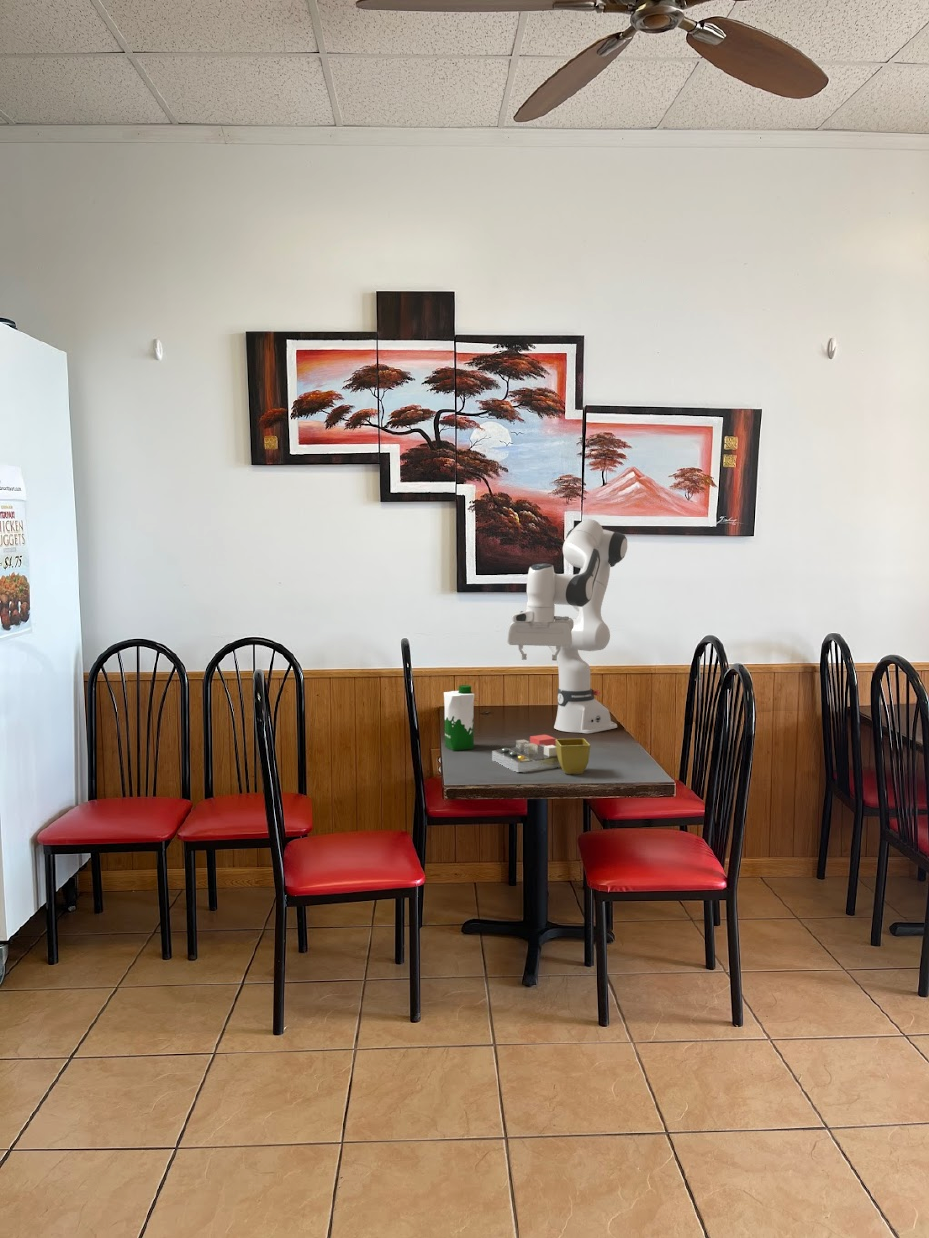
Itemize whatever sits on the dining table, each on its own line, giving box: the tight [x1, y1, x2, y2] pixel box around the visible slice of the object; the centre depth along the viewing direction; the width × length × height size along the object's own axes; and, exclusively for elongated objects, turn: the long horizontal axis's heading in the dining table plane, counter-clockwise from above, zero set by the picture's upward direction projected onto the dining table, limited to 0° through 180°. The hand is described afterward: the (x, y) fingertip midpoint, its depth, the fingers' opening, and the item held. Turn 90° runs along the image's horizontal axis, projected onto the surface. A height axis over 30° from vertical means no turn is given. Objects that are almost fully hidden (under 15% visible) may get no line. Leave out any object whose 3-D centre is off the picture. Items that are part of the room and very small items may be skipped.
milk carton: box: [443, 684, 476, 752], centre depth 294 cm, size 9×9×20 cm
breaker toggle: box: [544, 745, 557, 756], centre depth 273 cm, size 3×3×2 cm
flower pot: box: [556, 738, 591, 775], centre depth 266 cm, size 9×9×9 cm
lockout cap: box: [529, 734, 557, 746], centre depth 293 cm, size 6×6×4 cm
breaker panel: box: [491, 739, 561, 773], centre depth 276 cm, size 18×16×6 cm
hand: (539, 659), depth 285 cm, fingers open, 8 cm apart
